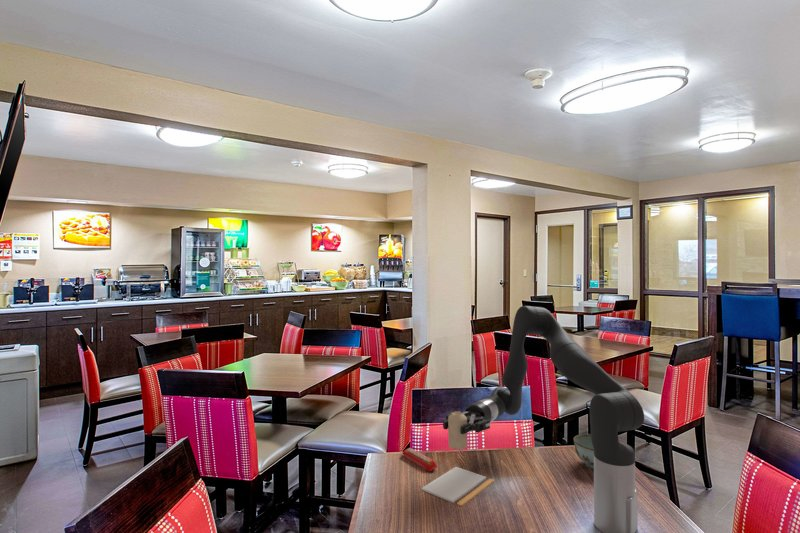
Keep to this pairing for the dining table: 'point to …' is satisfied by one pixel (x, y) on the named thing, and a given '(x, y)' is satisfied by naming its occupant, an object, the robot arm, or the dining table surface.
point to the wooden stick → (475, 492)
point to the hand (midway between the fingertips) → (452, 428)
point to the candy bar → (419, 459)
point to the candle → (457, 431)
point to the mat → (453, 484)
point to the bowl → (585, 449)
